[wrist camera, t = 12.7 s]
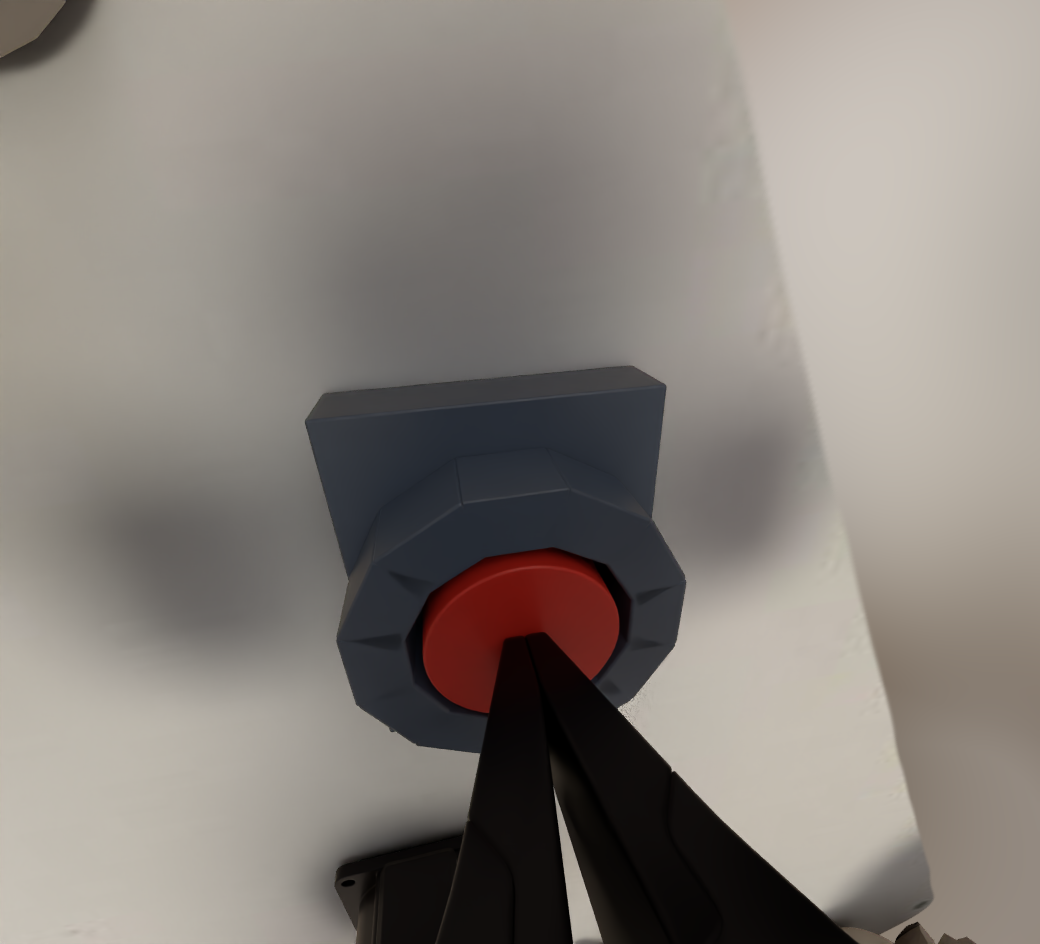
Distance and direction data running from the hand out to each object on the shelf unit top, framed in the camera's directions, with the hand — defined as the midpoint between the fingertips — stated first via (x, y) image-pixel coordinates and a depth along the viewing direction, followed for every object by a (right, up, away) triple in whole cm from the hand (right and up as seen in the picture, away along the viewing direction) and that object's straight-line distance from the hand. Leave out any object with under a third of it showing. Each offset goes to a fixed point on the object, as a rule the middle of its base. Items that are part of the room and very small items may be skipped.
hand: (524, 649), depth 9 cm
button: (0, +1, +2) cm, 2 cm away
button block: (-1, +2, +3) cm, 4 cm away
